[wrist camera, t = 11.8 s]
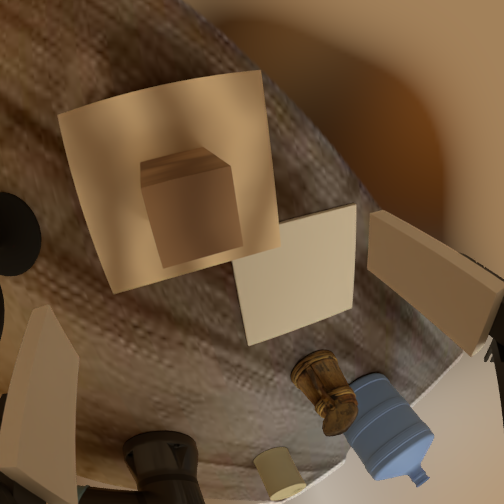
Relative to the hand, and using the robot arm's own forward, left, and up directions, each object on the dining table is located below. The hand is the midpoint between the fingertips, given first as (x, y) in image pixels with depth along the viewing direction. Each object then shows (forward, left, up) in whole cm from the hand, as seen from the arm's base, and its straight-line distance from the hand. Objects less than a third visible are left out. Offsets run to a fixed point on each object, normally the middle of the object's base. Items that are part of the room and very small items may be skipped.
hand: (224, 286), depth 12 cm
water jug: (+28, -58, -24) cm, 69 cm away
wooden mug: (+15, -38, -24) cm, 48 cm away
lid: (0, 0, -16) cm, 16 cm away
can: (+5, -71, -24) cm, 75 cm away
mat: (+14, -19, -24) cm, 34 cm away
